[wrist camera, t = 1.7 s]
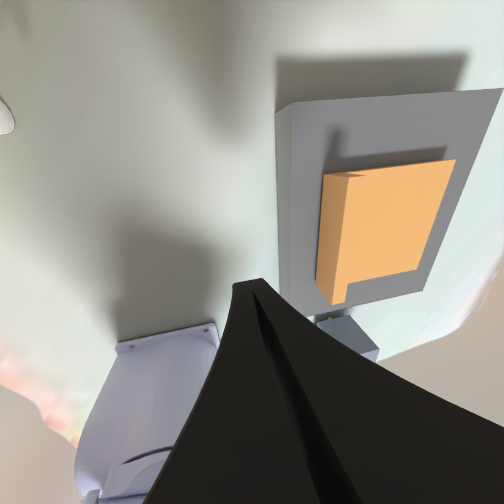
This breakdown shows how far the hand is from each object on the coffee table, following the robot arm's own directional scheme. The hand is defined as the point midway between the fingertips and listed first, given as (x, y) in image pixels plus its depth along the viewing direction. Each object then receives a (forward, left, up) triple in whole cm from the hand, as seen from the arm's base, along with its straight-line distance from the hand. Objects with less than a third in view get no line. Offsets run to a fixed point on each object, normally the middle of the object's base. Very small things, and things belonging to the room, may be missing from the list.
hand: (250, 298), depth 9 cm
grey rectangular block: (+10, -14, -8) cm, 19 cm away
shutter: (+10, 0, -5) cm, 12 cm away
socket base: (+11, 0, -8) cm, 14 cm away
